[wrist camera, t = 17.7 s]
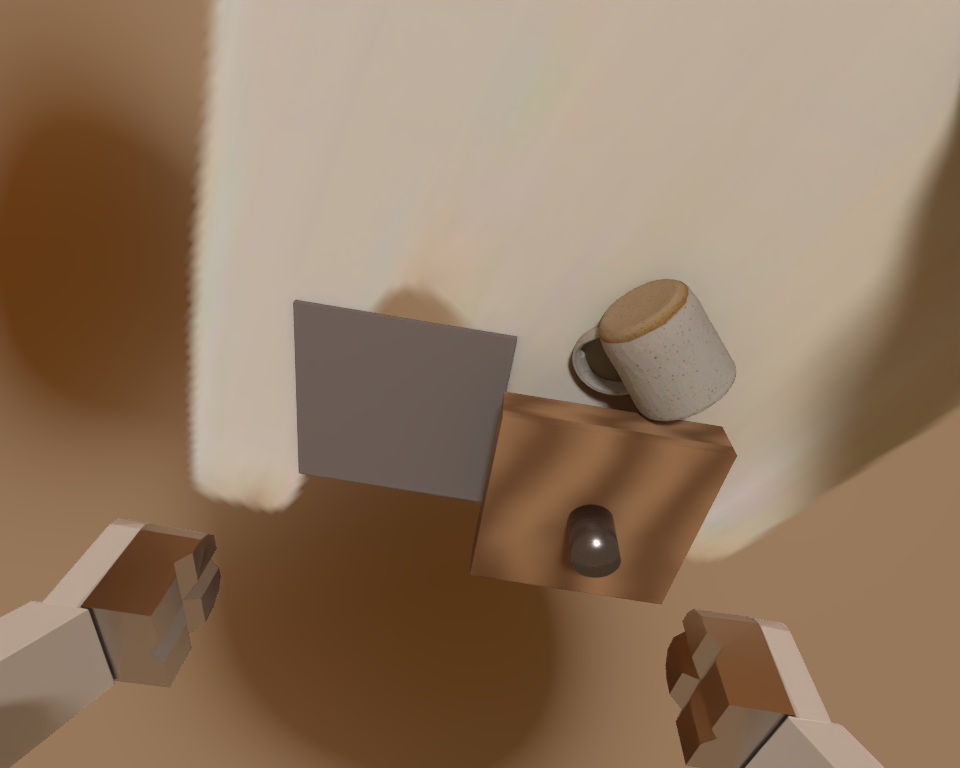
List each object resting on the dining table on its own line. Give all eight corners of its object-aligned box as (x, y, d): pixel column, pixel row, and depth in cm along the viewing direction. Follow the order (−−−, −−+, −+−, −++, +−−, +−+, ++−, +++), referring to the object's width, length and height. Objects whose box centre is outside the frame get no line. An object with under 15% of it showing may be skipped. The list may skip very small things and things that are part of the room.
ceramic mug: (674, 257, 41) (700, 300, 34) (720, 340, 44) (752, 394, 37) (550, 329, 45) (553, 379, 38) (601, 401, 48) (611, 458, 41)
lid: (722, 426, 43) (756, 494, 36) (653, 572, 52) (671, 646, 45) (504, 391, 42) (500, 453, 36) (472, 544, 51) (465, 615, 45)
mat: (517, 336, 45) (517, 339, 44) (483, 498, 54) (482, 502, 54) (295, 299, 45) (293, 302, 44) (300, 469, 54) (298, 472, 54)
